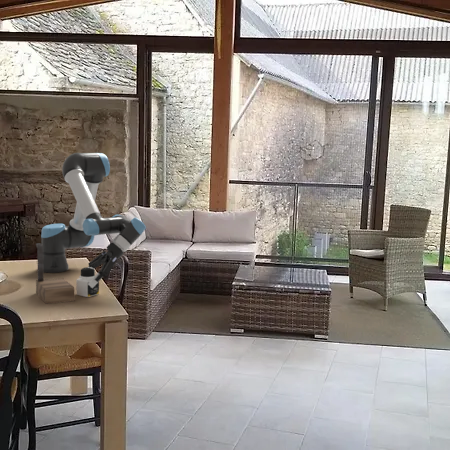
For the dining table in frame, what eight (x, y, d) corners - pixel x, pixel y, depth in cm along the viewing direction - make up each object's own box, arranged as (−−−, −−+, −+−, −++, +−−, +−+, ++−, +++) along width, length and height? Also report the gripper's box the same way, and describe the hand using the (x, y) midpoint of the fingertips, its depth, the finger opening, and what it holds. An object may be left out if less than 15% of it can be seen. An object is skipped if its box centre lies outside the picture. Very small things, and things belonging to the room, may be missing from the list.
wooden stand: (35, 292, 273) (34, 243, 270) (62, 289, 279) (62, 242, 276) (45, 303, 256) (45, 251, 253) (74, 300, 262) (74, 250, 259)
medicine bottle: (87, 297, 268) (87, 270, 266) (76, 294, 272) (76, 268, 270) (99, 294, 274) (99, 267, 272) (87, 291, 278) (87, 265, 276)
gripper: (133, 257, 267) (100, 294, 262) (114, 247, 289) (83, 281, 284) (122, 246, 264) (87, 283, 259) (103, 237, 285) (71, 271, 280)
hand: (85, 282), depth 271 cm, fingers open, 13 cm apart
